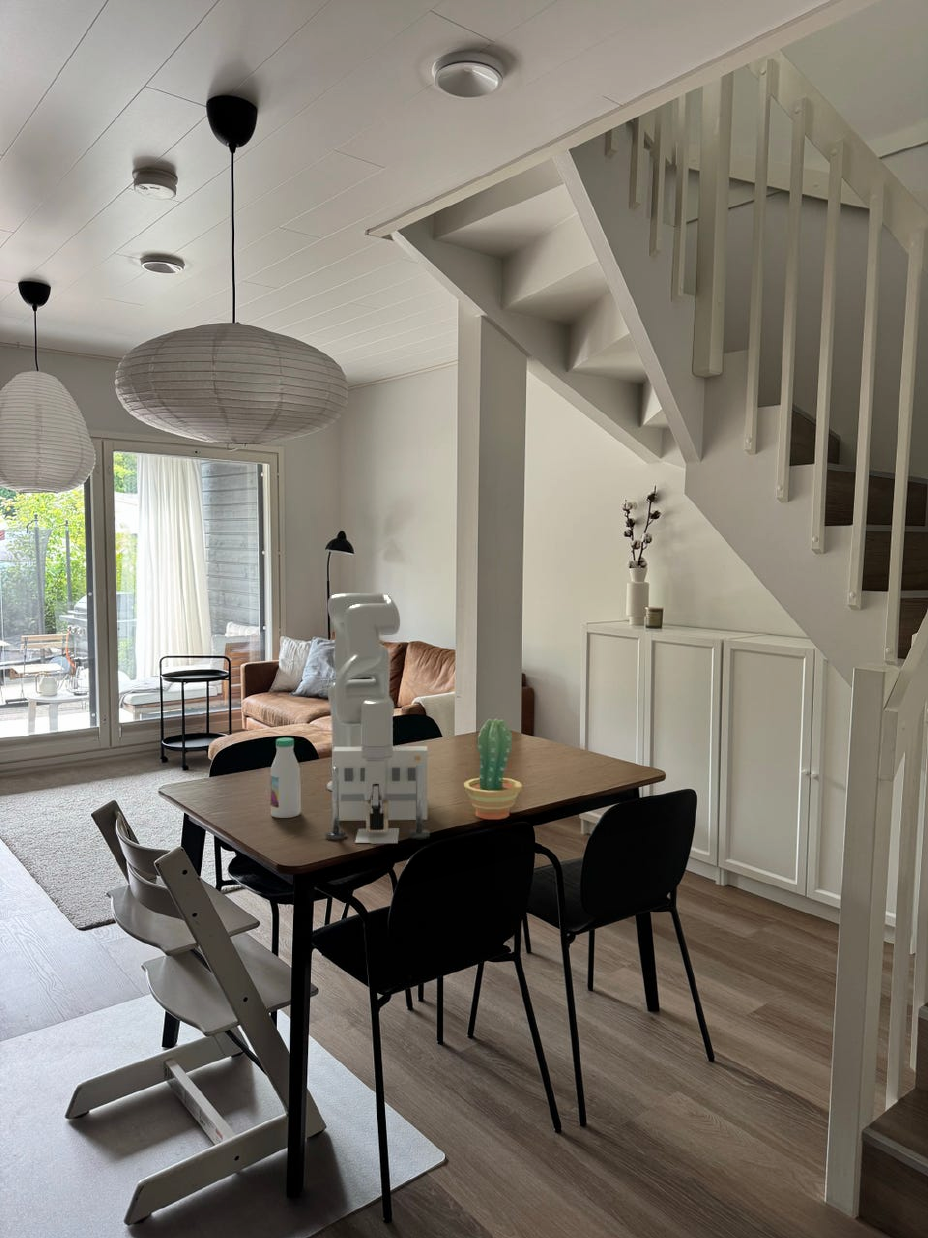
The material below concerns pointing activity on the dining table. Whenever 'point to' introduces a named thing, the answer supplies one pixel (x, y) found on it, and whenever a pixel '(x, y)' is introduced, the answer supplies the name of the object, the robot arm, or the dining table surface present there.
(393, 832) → the mat
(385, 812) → the birch block
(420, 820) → the post
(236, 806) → the dining table surface
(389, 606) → the robot arm
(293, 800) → the milk bottle
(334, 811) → the post
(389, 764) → the switch box
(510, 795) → the potted cactus
